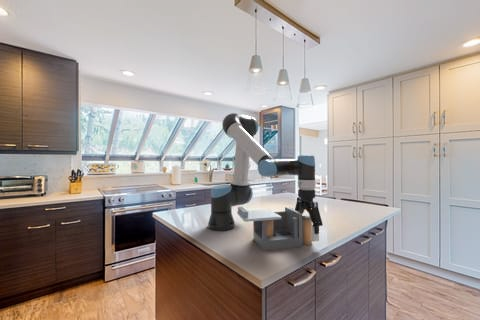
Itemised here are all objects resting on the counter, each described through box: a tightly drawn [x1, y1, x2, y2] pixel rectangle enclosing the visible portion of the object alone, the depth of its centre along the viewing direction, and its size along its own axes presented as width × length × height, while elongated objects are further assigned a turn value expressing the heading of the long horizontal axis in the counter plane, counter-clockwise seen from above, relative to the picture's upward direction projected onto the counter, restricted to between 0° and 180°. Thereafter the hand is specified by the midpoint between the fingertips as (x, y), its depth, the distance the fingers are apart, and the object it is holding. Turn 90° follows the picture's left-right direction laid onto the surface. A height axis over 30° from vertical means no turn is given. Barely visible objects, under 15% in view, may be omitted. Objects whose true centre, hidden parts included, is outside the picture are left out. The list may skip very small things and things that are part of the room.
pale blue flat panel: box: [236, 206, 281, 223], centre depth 98 cm, size 14×16×4 cm
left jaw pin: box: [266, 220, 273, 237], centre depth 99 cm, size 4×4×12 cm
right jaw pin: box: [302, 215, 313, 246], centre depth 99 cm, size 4×4×12 cm
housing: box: [252, 206, 303, 252], centre depth 100 cm, size 14×18×14 cm
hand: (307, 235), depth 99 cm, fingers open, 13 cm apart
